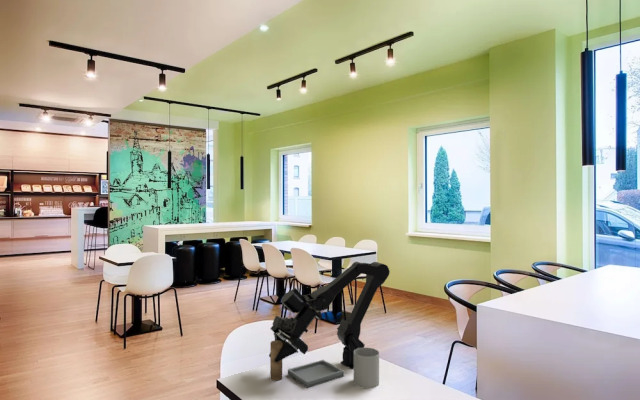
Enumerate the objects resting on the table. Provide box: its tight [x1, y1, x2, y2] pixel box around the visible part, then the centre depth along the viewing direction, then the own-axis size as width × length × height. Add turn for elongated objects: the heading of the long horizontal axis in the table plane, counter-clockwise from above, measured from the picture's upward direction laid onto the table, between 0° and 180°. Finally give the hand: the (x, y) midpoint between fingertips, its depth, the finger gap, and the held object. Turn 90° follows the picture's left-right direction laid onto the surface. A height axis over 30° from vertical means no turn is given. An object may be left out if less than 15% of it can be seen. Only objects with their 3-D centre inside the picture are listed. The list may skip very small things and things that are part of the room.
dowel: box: [269, 339, 283, 382], centre depth 135 cm, size 4×4×12 cm
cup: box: [353, 347, 380, 389], centre depth 133 cm, size 8×8×10 cm
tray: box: [287, 359, 345, 389], centre depth 138 cm, size 15×12×2 cm
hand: (272, 359), depth 135 cm, fingers closed on dowel, 4 cm apart
